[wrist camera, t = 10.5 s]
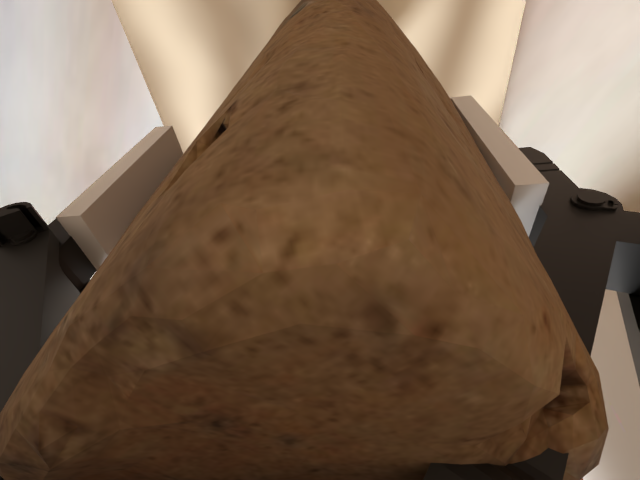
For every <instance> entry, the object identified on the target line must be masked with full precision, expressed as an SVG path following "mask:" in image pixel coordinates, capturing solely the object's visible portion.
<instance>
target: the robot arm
mask: <svg viewBox="0 0 640 480" xmlns="http://www.w3.org/2000/svg"><path fill="white" fill-rule="evenodd" d="M451 101H452V103H453V105H454V107H455V109H456V110H457V111H458V113H459V115H460V117H461V118H462V120H463V122H464V123H465V125H466V127H467V129H468V131H469V132H470V134H471V136H472V138H473V140H474V141H475V143H476V145H477V147H478V149H479V150H480V152H481V154H482V155H483V157H484V159H485V161H486V162H487V164H488V166H489V167H490V169H491V171H492V173H493V174H494V176H495V178H496V179H497V181H498V183H499V184H500V186H501V187H502V189H503V191H504V192H505V194H506V195H507V197H508V199H509V200H510V202H511V204H512V206H513V207H514V209H515V211H516V213H517V214H518V216H519V218H520V220H521V222H522V224H523V226H524V228H525V231H526V233H527V235H528V237H529V239H530V241H531V244H532V246H533V248H534V250H535V253H536V254H537V256H538V258H539V260H540V262H541V263H542V265H543V267H544V269H545V270H546V272H547V274H548V275H549V277H550V279H551V281H552V283H553V285H554V287H555V289H556V291H557V292H558V294H559V296H560V298H561V300H562V302H563V304H564V306H565V308H566V310H567V312H568V314H569V316H570V318H571V320H572V322H573V324H574V326H575V328H576V330H577V332H578V334H579V336H580V338H581V339H582V341H583V343H584V345H585V347H586V349H587V351H588V353H589V355H590V357H591V352H592V348H593V343H594V339H595V334H596V330H597V325H598V321H599V316H600V312H601V307H602V303H603V299H604V294H605V290H606V289H607V290H612V291H616V292H617V296H618V300H619V304H620V308H621V313H622V317H623V321H624V325H625V329H626V333H627V337H628V341H629V345H630V350H631V354H632V358H633V362H634V366H635V370H636V374H637V378H638V382H639V387H640V213H637V212H628V211H623V207H622V204H621V203H620V202H619V201H618V200H617V199H616V198H614V197H612V196H610V195H608V194H606V193H603V192H600V191H596V190H591V189H583V188H578V187H577V186H576V185H575V184H574V183H573V182H572V181H571V180H570V179H569V178H568V177H567V176H566V175H565V174H564V173H563V172H562V171H561V170H560V171H559V168H558V167H557V166H556V165H555V164H553V162H552V161H551V160H550V159H549V158H548V157H547V156H546V155H545V154H544V153H542V152H540V151H538V150H536V149H533V148H531V147H525V148H518V147H517V146H516V145H515V144H514V143H513V142H512V141H511V139H510V138H509V137H508V136H507V135H506V134H505V133H504V132H503V130H502V129H501V128H500V127H499V126H498V125H497V124H496V123H495V121H494V120H493V119H492V118H491V117H490V116H489V115H488V114H487V113H486V111H485V110H484V109H483V108H482V107H481V106H480V105H479V104H478V102H477V101H476V100H475V99H474V98H473V97H472V96H471V95H470V96H460V97H451ZM182 155H183V151H182V149H181V146H180V144H179V141H178V139H177V136H176V134H175V131H174V129H173V126H162V127H155V128H154V129H153V130H152V131H151V132H150V133H149V134H147V135H146V136H145V137H144V138H143V139H142V140H141V141H140V142H139V143H138V144H136V145H135V146H134V147H133V148H132V149H131V150H130V151H129V152H128V153H126V154H125V155H124V156H123V157H122V158H121V159H120V160H119V161H118V162H116V163H115V164H114V165H113V166H112V167H111V168H110V169H109V170H108V171H106V172H105V173H104V174H103V175H102V176H101V177H100V178H99V179H98V180H96V181H95V182H94V183H93V184H92V185H91V186H90V187H89V188H88V189H87V190H85V191H84V192H83V193H82V194H81V195H80V196H79V197H78V198H77V199H75V200H74V201H73V202H72V203H71V204H70V205H69V206H68V207H67V208H65V209H64V210H63V211H62V212H61V213H60V214H59V215H58V216H57V217H56V219H55V220H54V221H53V222H52V223H50V224H49V225H47V224H46V223H45V221H44V220H43V219H42V217H41V216H40V215H39V214H38V212H37V211H36V210H35V209H34V207H33V206H32V205H31V203H27V202H20V203H14V204H11V205H7V206H4V207H2V208H0V413H1V411H2V410H3V408H4V406H5V405H6V403H7V401H8V400H9V398H10V396H11V394H12V393H13V391H14V389H15V388H16V386H17V384H18V383H19V381H20V379H21V378H22V376H23V374H24V373H25V371H26V370H27V368H28V367H29V365H30V364H31V363H32V361H33V360H34V358H35V357H36V355H37V354H38V352H39V351H40V350H41V348H42V347H43V345H44V344H45V342H46V341H47V339H48V338H49V336H50V335H51V333H52V332H53V330H54V329H55V328H56V326H57V325H58V324H59V322H60V321H61V320H62V318H63V317H64V316H65V314H66V313H67V312H68V310H69V309H70V308H71V306H72V305H73V304H74V302H75V301H76V299H77V298H78V297H79V295H80V294H81V292H82V291H83V290H84V288H85V287H86V285H87V284H88V283H89V281H90V278H91V277H92V275H93V274H94V273H95V272H96V271H97V270H98V269H99V267H100V266H101V265H102V263H103V262H104V260H105V259H106V258H107V256H108V255H109V254H110V252H111V251H112V249H113V248H114V247H115V245H116V244H117V242H118V241H119V240H120V238H121V237H122V235H123V234H124V232H125V231H126V229H127V228H128V227H129V225H130V224H131V222H132V221H133V219H134V218H135V217H136V215H137V214H138V213H139V212H140V210H141V209H142V208H143V206H144V205H145V204H146V202H147V201H148V200H149V198H150V197H151V196H152V194H153V193H154V192H155V191H156V189H157V188H158V186H159V185H160V184H161V182H162V181H163V180H164V178H165V177H166V176H167V174H168V173H169V172H170V171H171V169H172V168H173V167H174V165H175V164H176V163H177V162H178V160H179V159H180V158H181V156H182ZM568 455H569V453H564V454H562V453H560V452H557V451H555V450H552V449H550V448H548V449H546V450H545V451H544V452H542V453H541V454H540V455H537V456H535V457H532V458H530V459H527V460H525V461H522V462H517V463H513V464H507V465H506V466H499V465H493V464H489V463H485V464H462V465H461V464H447V463H431V464H430V466H429V468H428V470H427V472H426V474H425V477H424V479H423V480H563V477H564V473H565V468H566V464H567V459H568ZM0 480H4V479H3V478H2V477H1V476H0Z"/></svg>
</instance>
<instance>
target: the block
mask: <svg viewBox="0 0 640 480" xmlns="http://www.w3.org/2000/svg"><path fill="white" fill-rule="evenodd" d="M608 430H609V427H608V422H607V416H606V410H605V404H604V399H603V393H602V387H601V381H600V376H599V372H598V370H597V368H596V366H595V364H594V362H593V360H592V358H591V357H590V355H589V353H588V351H587V349H586V347H585V345H584V343H583V341H582V339H581V338H580V336H579V334H578V332H577V330H576V328H575V326H574V324H573V322H572V320H571V318H570V316H569V314H568V312H567V310H566V308H565V306H564V304H563V302H562V300H561V298H560V296H559V294H558V292H557V291H556V289H555V287H554V285H553V283H552V281H551V279H550V277H549V275H548V274H547V272H546V270H545V269H544V267H543V265H542V263H541V262H540V260H539V258H538V256H537V254H536V253H535V250H534V248H533V246H532V244H531V241H530V239H529V237H528V235H527V233H526V231H525V228H524V226H523V224H522V222H521V220H520V218H519V216H518V214H517V213H516V211H515V209H514V207H513V206H512V204H511V202H510V200H509V199H508V197H507V195H506V194H505V192H504V191H503V189H502V187H501V186H500V184H499V183H498V181H497V179H496V178H495V176H494V174H493V173H492V171H491V169H490V167H489V166H488V164H487V162H486V161H485V159H484V157H483V155H482V154H481V152H480V150H479V149H478V147H477V145H476V143H475V141H474V140H473V138H472V136H471V134H470V132H469V131H468V129H467V127H466V125H465V123H464V122H463V120H462V118H461V117H460V115H459V113H458V111H457V110H456V109H455V107H454V105H453V103H452V101H451V99H450V97H449V96H448V94H447V93H446V91H445V90H444V88H443V86H442V85H441V83H440V82H439V81H438V79H437V78H436V76H435V75H434V74H433V72H432V71H431V69H430V68H429V67H428V65H427V64H426V62H425V61H424V59H423V58H422V57H421V55H420V54H419V52H418V51H417V50H416V48H415V47H414V46H413V44H412V43H411V42H410V41H409V39H408V38H407V37H406V35H405V34H404V33H403V32H402V30H401V29H400V28H399V26H398V25H397V24H396V23H395V21H394V20H393V19H392V17H391V16H390V15H389V14H388V13H387V11H386V10H385V9H384V8H383V7H382V6H381V4H380V3H379V2H378V1H377V0H301V1H300V2H299V3H298V4H297V5H296V7H295V8H294V9H293V10H292V11H291V13H290V14H289V15H288V16H287V17H286V18H285V19H284V20H283V22H282V23H281V24H280V25H279V27H278V28H277V30H276V31H275V33H274V34H273V36H272V37H271V39H270V40H269V41H268V43H267V44H266V45H265V47H264V48H263V49H262V51H261V52H260V53H259V55H258V56H257V57H256V58H255V60H254V61H253V62H252V64H251V65H250V67H249V68H248V69H247V71H246V72H245V73H244V75H243V76H242V77H241V79H240V80H239V81H238V83H237V84H236V85H235V86H234V88H233V89H232V90H231V92H230V93H229V95H228V96H227V97H226V99H225V100H224V101H223V103H222V104H221V105H220V107H219V108H218V109H217V110H216V112H215V113H214V114H213V116H212V117H211V118H210V120H209V121H208V122H207V124H206V125H205V126H204V128H203V129H202V130H201V132H200V133H199V134H198V135H197V137H196V138H195V139H194V141H193V142H192V143H191V145H190V146H189V147H188V148H187V150H186V151H185V152H184V154H183V155H182V156H181V158H180V159H179V160H178V162H177V163H176V164H175V165H174V167H173V168H172V169H171V171H170V172H169V173H168V174H167V176H166V177H165V178H164V180H163V181H162V182H161V184H160V185H159V186H158V188H157V189H156V191H155V192H154V193H153V194H152V196H151V197H150V198H149V200H148V201H147V202H146V204H145V205H144V206H143V208H142V209H141V210H140V212H139V213H138V214H137V215H136V217H135V218H134V219H133V221H132V222H131V224H130V225H129V227H128V228H127V229H126V231H125V232H124V234H123V235H122V237H121V238H120V240H119V241H118V242H117V244H116V245H115V247H114V248H113V249H112V251H111V252H110V254H109V255H108V256H107V258H106V259H105V260H104V262H103V263H102V265H101V266H100V267H99V269H98V270H97V272H96V273H95V274H94V276H93V277H92V279H91V280H90V281H89V283H88V284H87V285H86V287H85V288H84V290H83V291H82V292H81V294H80V295H79V297H78V298H77V299H76V301H75V302H74V304H73V305H72V306H71V308H70V309H69V310H68V312H67V313H66V314H65V316H64V317H63V318H62V320H61V321H60V322H59V324H58V325H57V326H56V328H55V329H54V330H53V332H52V333H51V335H50V336H49V338H48V339H47V341H46V342H45V344H44V345H43V347H42V348H41V350H40V351H39V352H38V354H37V355H36V357H35V358H34V360H33V361H32V363H31V364H30V365H29V367H28V368H27V370H26V371H25V373H24V374H23V376H22V378H21V379H20V381H19V383H18V384H17V386H16V388H15V389H14V391H13V393H12V394H11V396H10V398H9V400H8V401H7V403H6V405H5V406H4V408H3V410H2V411H1V413H0V476H1V477H2V478H3V479H4V480H423V479H424V477H425V474H426V472H427V470H428V468H429V466H430V464H431V463H447V464H461V465H462V464H485V463H489V464H493V465H499V466H506V465H507V464H513V463H517V462H522V461H525V460H527V459H530V458H532V457H535V456H537V455H540V454H541V453H542V452H544V451H545V450H546V449H548V448H550V449H552V450H555V451H557V452H560V453H562V454H564V453H569V455H568V459H567V464H566V468H565V473H564V477H563V480H580V479H581V478H583V477H584V476H585V475H586V474H588V473H589V472H590V471H591V470H593V469H594V468H595V467H596V466H597V465H599V462H600V458H601V455H602V451H603V447H604V444H605V440H606V437H607V433H608Z"/></svg>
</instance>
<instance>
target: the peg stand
mask: <svg viewBox="0 0 640 480" xmlns="http://www.w3.org/2000/svg"><path fill="white" fill-rule="evenodd" d="M300 1H301V0H112V2H113V5H114V7H115V10H116V12H117V14H118V17H119V19H120V22H121V24H122V26H123V29H124V31H125V34H126V36H127V38H128V41H129V43H130V46H131V48H132V50H133V53H134V55H135V58H136V60H137V62H138V65H139V67H140V70H141V72H142V75H143V77H144V79H145V82H146V84H147V87H148V89H149V91H150V94H151V96H152V99H153V101H154V103H155V106H156V108H157V111H158V113H159V115H160V118H161V120H162V123H163V125H164V126H173V129H174V131H175V134H176V136H177V139H178V141H179V144H180V146H181V149H182V151H183V154H184V152H185V151H186V150H187V148H188V147H189V146H190V145H191V143H192V142H193V141H194V139H195V138H196V137H197V135H198V134H199V133H200V132H201V130H202V129H203V128H204V126H205V125H206V124H207V122H208V121H209V120H210V118H211V117H212V116H213V114H214V113H215V112H216V110H217V109H218V108H219V107H220V105H221V104H222V103H223V101H224V100H225V99H226V97H227V96H228V95H229V93H230V92H231V90H232V89H233V88H234V86H235V85H236V84H237V83H238V81H239V80H240V79H241V77H242V76H243V75H244V73H245V72H246V71H247V69H248V68H249V67H250V65H251V64H252V62H253V61H254V60H255V58H256V57H257V56H258V55H259V53H260V52H261V51H262V49H263V48H264V47H265V45H266V44H267V43H268V41H269V40H270V39H271V37H272V36H273V34H274V33H275V31H276V30H277V28H278V27H279V25H280V24H281V23H282V22H283V20H284V19H285V18H286V17H287V16H288V15H289V14H290V13H291V11H292V10H293V9H294V8H295V7H296V5H297V4H298V3H299V2H300ZM377 1H378V2H379V3H380V4H381V6H382V7H383V8H384V9H385V10H386V11H387V13H388V14H389V15H390V16H391V17H392V19H393V20H394V21H395V23H396V24H397V25H398V26H399V28H400V29H401V30H402V32H403V33H404V34H405V35H406V37H407V38H408V39H409V41H410V42H411V43H412V44H413V46H414V47H415V48H416V50H417V51H418V52H419V54H420V55H421V57H422V58H423V59H424V61H425V62H426V64H427V65H428V67H429V68H430V69H431V71H432V72H433V74H434V75H435V76H436V78H437V79H438V81H439V82H440V83H441V85H442V86H443V88H444V90H445V91H446V93H447V94H448V96H449V97H450V99H451V97H460V96H470V95H471V96H472V97H473V98H474V99H475V100H476V101H477V102H478V104H479V105H480V106H481V107H482V108H483V109H484V110H485V111H486V113H487V114H488V115H489V116H490V117H491V118H492V119H493V120H494V121H495V123H496V124H497V125H498V126H499V123H500V118H501V114H502V109H503V105H504V100H505V95H506V91H507V86H508V81H509V77H510V72H511V68H512V63H513V58H514V54H515V49H516V44H517V40H518V35H519V31H520V26H521V21H522V17H523V12H524V7H525V3H526V0H377Z"/></svg>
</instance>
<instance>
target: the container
mask: <svg viewBox="0 0 640 480" xmlns="http://www.w3.org/2000/svg"><path fill="white" fill-rule="evenodd" d="M591 358H592V360H593V362H594V364H595V366H596V368H597V370H598V372H599V376H600V381H601V387H602V393H603V399H604V404H605V410H606V416H607V422H608V427H609V430H608V433H607V437H606V440H605V444H604V447H603V451H602V455H601V458H600V462H599V465H597V466H596V467H595V468H594V469H593V470H591V471H590V472H589V473H588V474H586V475H585V476H584V477H583V479H584V480H640V387H639V382H638V378H637V374H636V370H635V366H634V362H633V358H632V354H631V350H630V345H629V341H628V337H627V333H626V329H625V325H624V321H623V317H622V313H621V308H620V304H619V300H618V296H617V292H616V291H612V290H607V289H606V290H605V294H604V299H603V303H602V307H601V312H600V316H599V321H598V325H597V330H596V334H595V339H594V343H593V348H592V352H591Z"/></svg>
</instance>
